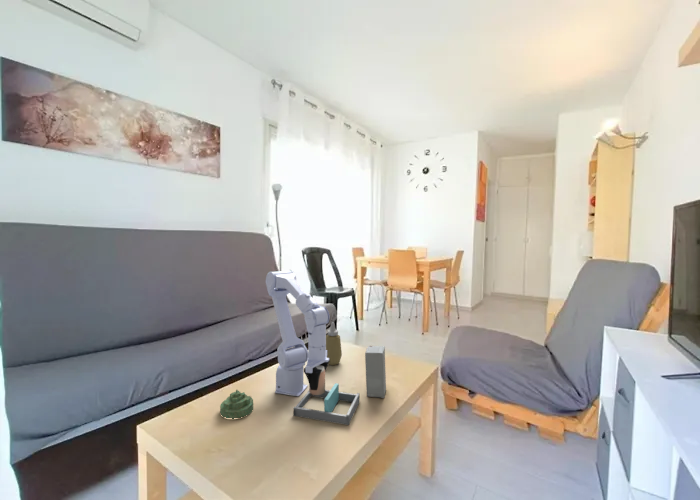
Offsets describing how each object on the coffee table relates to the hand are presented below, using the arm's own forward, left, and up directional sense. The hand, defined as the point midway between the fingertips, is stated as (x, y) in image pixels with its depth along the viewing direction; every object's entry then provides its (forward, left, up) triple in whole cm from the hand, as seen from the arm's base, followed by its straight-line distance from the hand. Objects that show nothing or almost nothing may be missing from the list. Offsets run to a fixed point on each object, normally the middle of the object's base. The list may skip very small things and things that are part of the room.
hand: (317, 385), depth 104 cm
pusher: (+5, 0, -7) cm, 9 cm away
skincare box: (+17, +15, -8) cm, 24 cm away
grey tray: (+4, 0, -7) cm, 8 cm away
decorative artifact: (-24, -9, -8) cm, 27 cm away
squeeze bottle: (-6, +35, -8) cm, 36 cm away
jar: (0, 0, -2) cm, 2 cm away
